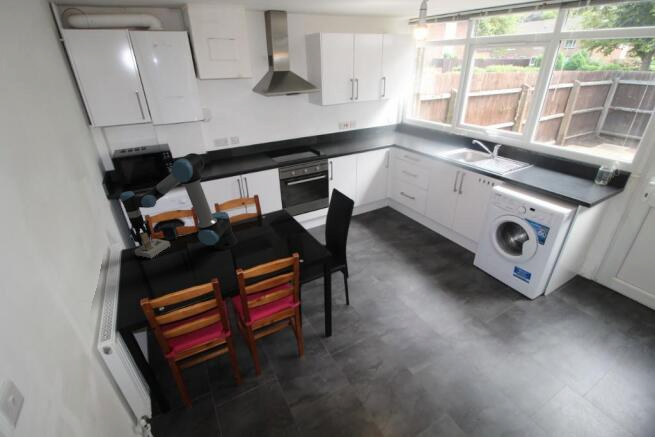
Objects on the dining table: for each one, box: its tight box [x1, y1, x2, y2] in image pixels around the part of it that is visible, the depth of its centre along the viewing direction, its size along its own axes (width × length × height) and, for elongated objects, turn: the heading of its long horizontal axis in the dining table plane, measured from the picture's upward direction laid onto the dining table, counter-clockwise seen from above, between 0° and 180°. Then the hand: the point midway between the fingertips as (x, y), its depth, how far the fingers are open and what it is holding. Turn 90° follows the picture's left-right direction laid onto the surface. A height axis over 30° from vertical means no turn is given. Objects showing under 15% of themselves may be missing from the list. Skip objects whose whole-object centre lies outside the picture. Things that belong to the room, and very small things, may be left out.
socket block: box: [133, 238, 171, 260], centre depth 215 cm, size 14×16×4 cm
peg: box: [140, 231, 152, 251], centre depth 209 cm, size 4×4×12 cm
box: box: [160, 222, 180, 241], centre depth 227 cm, size 8×6×11 cm
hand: (147, 247), depth 211 cm, fingers closed on peg, 4 cm apart
